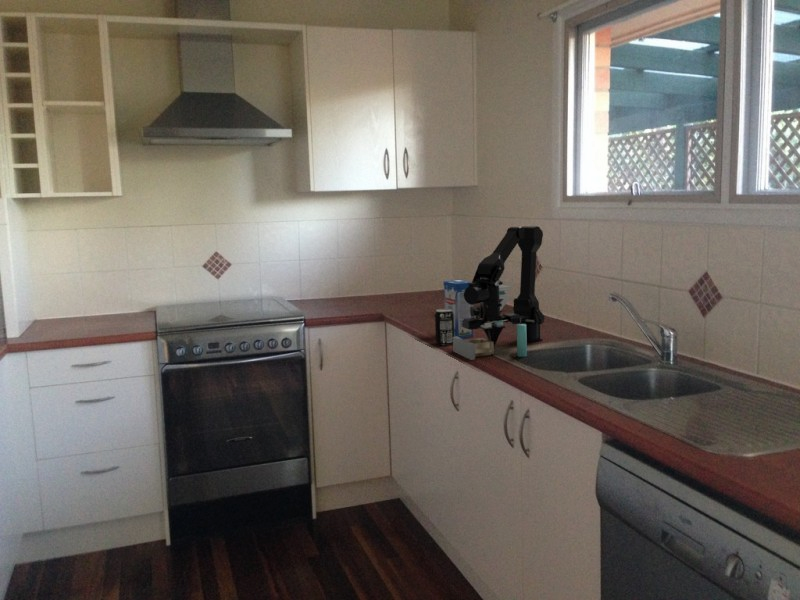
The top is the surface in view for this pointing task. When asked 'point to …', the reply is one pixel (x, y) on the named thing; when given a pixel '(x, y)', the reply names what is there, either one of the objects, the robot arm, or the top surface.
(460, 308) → the milk carton
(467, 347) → the wall
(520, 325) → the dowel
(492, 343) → the sliding block
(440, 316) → the beverage can
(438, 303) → the top surface
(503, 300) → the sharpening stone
